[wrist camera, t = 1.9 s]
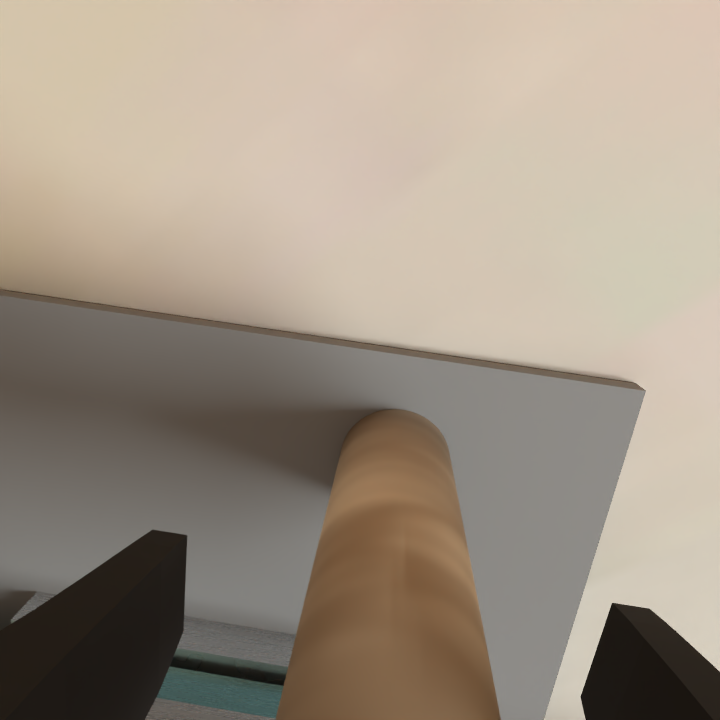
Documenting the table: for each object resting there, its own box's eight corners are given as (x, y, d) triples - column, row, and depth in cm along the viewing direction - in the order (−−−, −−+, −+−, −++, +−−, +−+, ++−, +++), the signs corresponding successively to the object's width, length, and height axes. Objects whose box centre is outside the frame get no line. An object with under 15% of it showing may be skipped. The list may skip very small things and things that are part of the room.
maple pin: (459, 418, 14) (551, 759, 5) (439, 515, 15) (492, 942, 6) (347, 401, 14) (264, 710, 5) (334, 498, 15) (244, 897, 6)
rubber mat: (635, 383, 14) (645, 390, 13) (485, 879, 20) (487, 899, 19) (-156, 266, 15) (-178, 269, 14) (-76, 777, 21) (-90, 794, 20)
